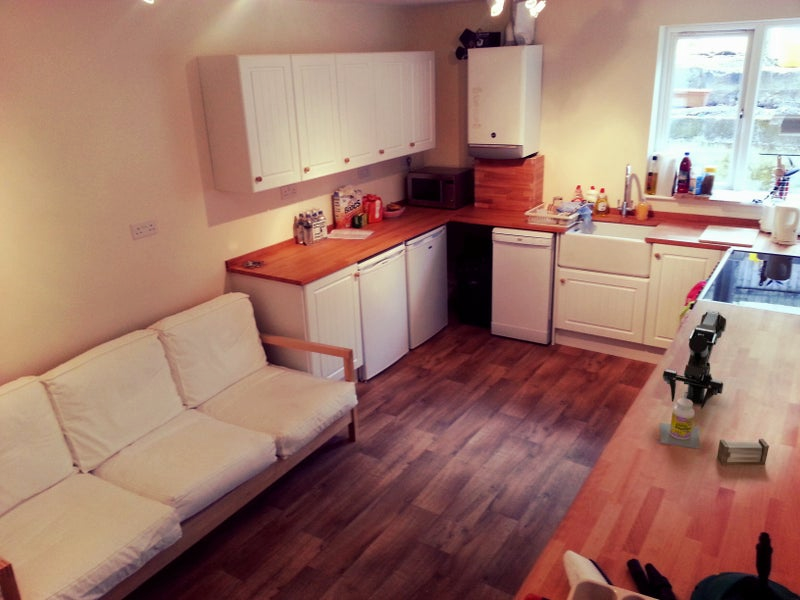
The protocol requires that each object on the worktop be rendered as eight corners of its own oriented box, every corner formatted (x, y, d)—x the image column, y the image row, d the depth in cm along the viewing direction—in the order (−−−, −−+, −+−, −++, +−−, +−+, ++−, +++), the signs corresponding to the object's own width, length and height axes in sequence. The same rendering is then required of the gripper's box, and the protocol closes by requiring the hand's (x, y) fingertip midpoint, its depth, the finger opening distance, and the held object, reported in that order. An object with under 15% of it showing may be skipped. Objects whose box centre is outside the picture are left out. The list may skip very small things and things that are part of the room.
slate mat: (660, 423, 226) (660, 422, 225) (698, 429, 222) (698, 428, 222) (660, 443, 215) (660, 442, 215) (700, 449, 211) (700, 448, 211)
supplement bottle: (670, 439, 216) (675, 406, 211) (668, 428, 222) (672, 395, 217) (692, 441, 215) (697, 408, 210) (689, 430, 220) (694, 397, 215)
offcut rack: (716, 458, 207) (719, 439, 204) (759, 457, 206) (763, 438, 204) (721, 465, 203) (725, 446, 201) (765, 464, 203) (769, 446, 200)
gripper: (667, 348, 223) (655, 391, 219) (727, 360, 213) (716, 406, 209) (669, 359, 232) (658, 400, 228) (727, 371, 222) (717, 414, 218)
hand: (686, 405), depth 221 cm, fingers open, 9 cm apart
